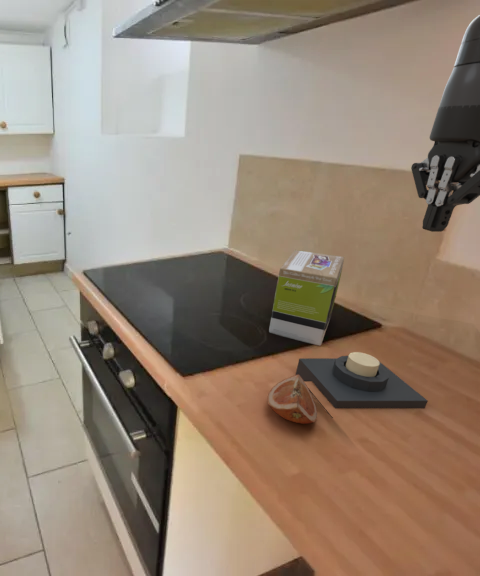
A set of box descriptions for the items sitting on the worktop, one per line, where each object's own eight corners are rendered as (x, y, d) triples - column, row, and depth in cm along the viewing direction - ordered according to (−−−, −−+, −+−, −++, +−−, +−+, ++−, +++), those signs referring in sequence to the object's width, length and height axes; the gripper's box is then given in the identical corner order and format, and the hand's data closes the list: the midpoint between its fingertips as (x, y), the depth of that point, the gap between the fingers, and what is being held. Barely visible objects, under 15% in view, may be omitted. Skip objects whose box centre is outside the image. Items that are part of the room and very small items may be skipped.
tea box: (282, 308, 90) (294, 248, 84) (330, 319, 85) (347, 256, 79) (266, 333, 79) (279, 265, 73) (321, 348, 73) (340, 276, 68)
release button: (364, 362, 61) (368, 351, 60) (382, 377, 57) (386, 366, 56) (339, 362, 61) (343, 351, 60) (355, 377, 57) (359, 366, 56)
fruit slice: (315, 443, 51) (323, 413, 49) (261, 426, 54) (268, 398, 52) (315, 406, 58) (322, 379, 56) (267, 393, 61) (273, 367, 59)
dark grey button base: (370, 373, 66) (378, 349, 64) (420, 418, 55) (432, 390, 54) (295, 374, 66) (301, 349, 64) (332, 418, 55) (340, 390, 54)
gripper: (559, 99, 45) (500, 242, 51) (460, 106, 57) (422, 220, 64) (496, 99, 45) (444, 242, 51) (410, 106, 57) (377, 220, 64)
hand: (432, 230), depth 57 cm, fingers closed
